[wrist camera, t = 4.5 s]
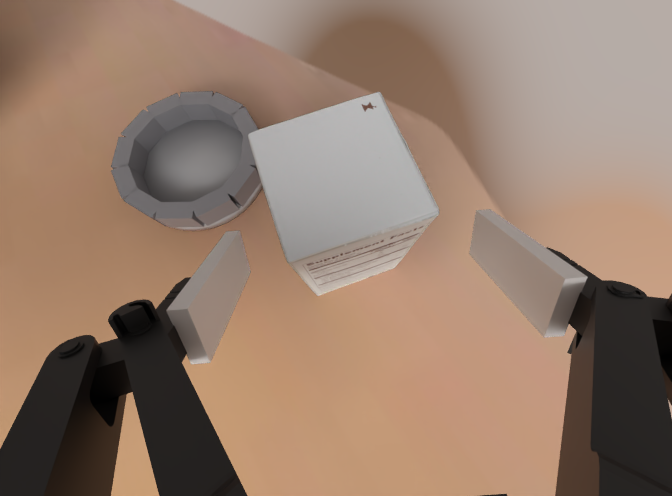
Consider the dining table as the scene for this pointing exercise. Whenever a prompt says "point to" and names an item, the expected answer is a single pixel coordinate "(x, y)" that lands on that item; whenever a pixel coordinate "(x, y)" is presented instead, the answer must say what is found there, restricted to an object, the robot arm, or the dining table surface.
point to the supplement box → (342, 192)
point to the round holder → (188, 161)
